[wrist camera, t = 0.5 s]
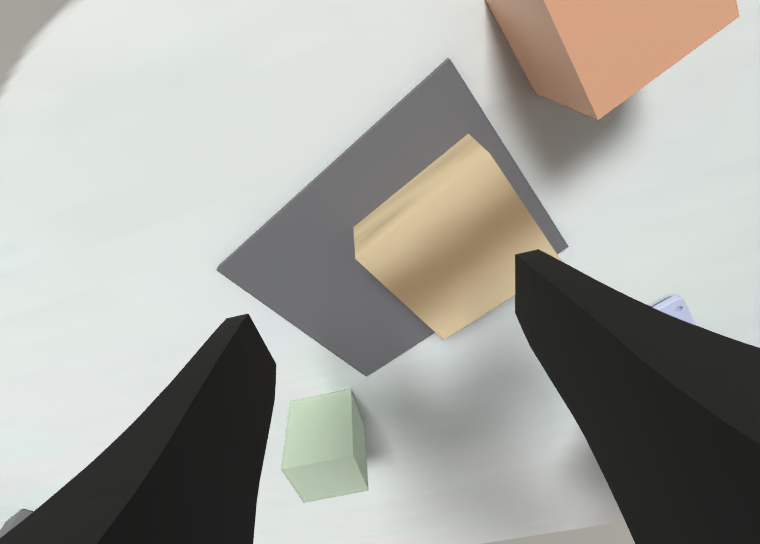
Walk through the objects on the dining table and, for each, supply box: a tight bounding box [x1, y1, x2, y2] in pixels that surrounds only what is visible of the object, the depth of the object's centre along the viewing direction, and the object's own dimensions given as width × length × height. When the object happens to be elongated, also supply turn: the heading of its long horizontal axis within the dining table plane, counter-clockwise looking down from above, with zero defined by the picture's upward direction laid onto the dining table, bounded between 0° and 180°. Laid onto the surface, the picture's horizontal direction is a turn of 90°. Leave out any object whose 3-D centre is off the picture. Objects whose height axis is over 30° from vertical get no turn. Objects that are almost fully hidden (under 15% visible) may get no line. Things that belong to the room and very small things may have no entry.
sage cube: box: [281, 389, 368, 503], centre depth 26 cm, size 4×4×5 cm
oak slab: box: [353, 134, 561, 340], centre depth 19 cm, size 7×7×3 cm
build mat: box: [217, 58, 569, 376], centre depth 21 cm, size 12×15×1 cm
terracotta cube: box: [486, 0, 739, 120], centre depth 13 cm, size 4×4×5 cm
